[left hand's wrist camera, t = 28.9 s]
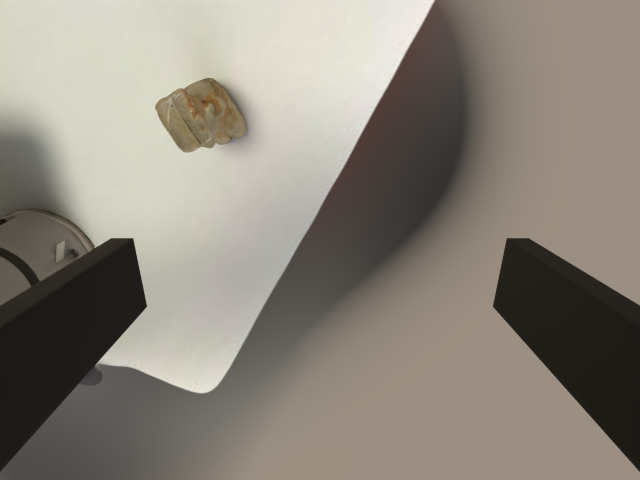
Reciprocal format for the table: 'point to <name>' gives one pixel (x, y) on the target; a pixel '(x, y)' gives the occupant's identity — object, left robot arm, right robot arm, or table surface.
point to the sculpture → (200, 116)
